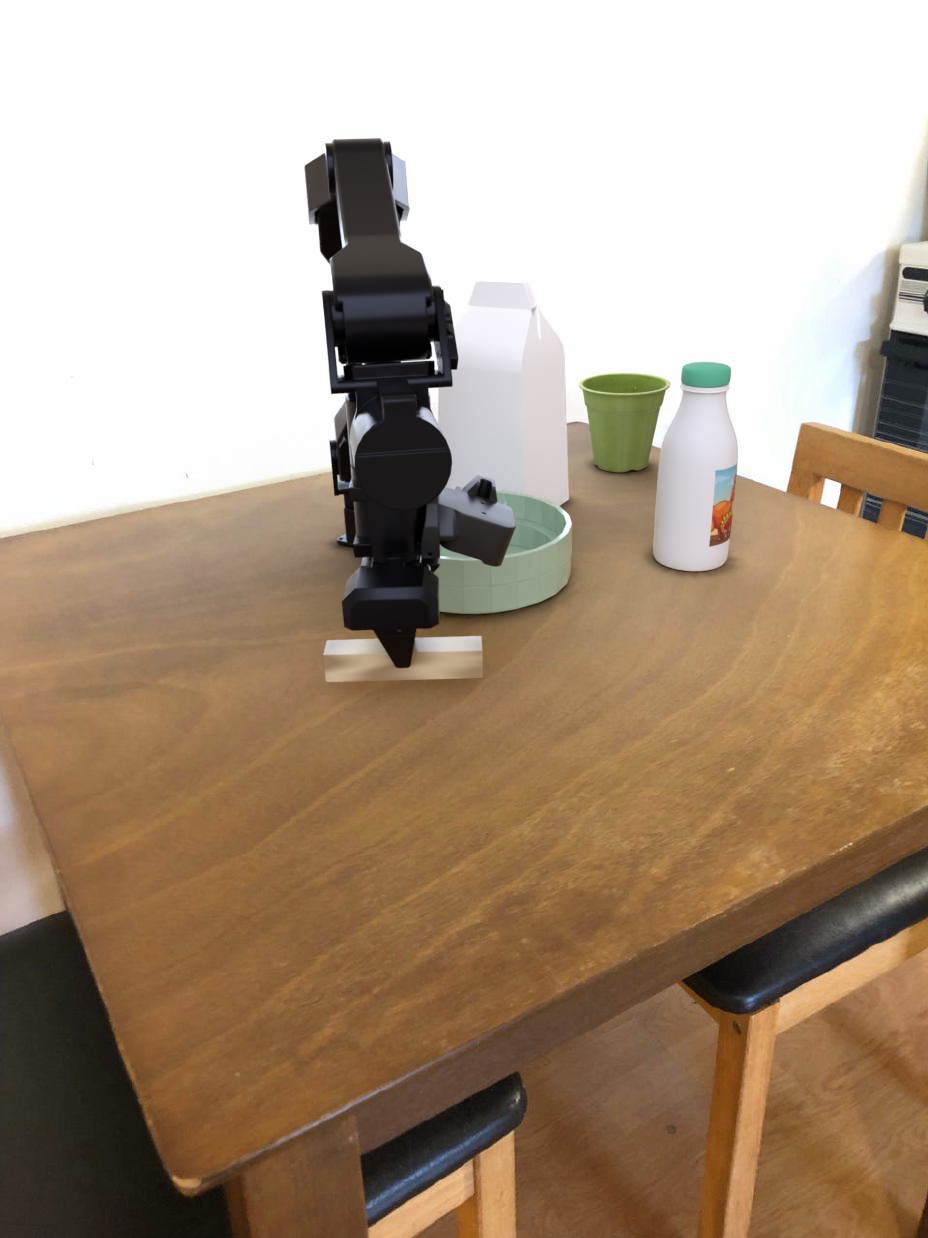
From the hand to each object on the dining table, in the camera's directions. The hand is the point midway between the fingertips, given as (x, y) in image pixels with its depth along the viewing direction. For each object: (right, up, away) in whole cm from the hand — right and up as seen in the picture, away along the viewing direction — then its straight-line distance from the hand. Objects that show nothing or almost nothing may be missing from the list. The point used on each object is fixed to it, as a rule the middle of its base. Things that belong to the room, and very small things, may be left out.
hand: (404, 658), depth 72 cm
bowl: (+6, +7, +24) cm, 25 cm away
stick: (0, -1, +1) cm, 1 cm away
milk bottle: (+28, +9, +26) cm, 40 cm away
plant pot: (+26, +24, +55) cm, 66 cm away
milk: (+9, +17, +42) cm, 46 cm away
